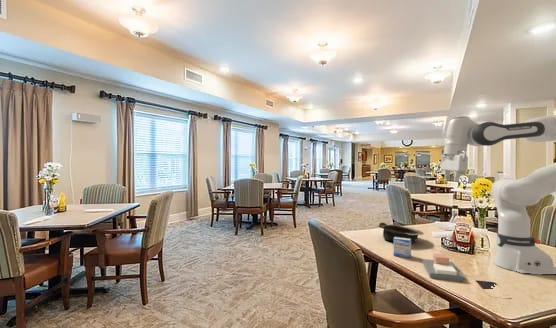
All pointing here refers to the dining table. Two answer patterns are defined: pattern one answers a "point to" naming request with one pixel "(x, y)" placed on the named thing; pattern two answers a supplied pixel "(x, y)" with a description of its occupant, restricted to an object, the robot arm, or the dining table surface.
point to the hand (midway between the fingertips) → (451, 180)
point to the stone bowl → (399, 232)
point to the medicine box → (402, 247)
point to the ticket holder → (443, 271)
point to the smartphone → (486, 284)
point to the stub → (440, 259)
